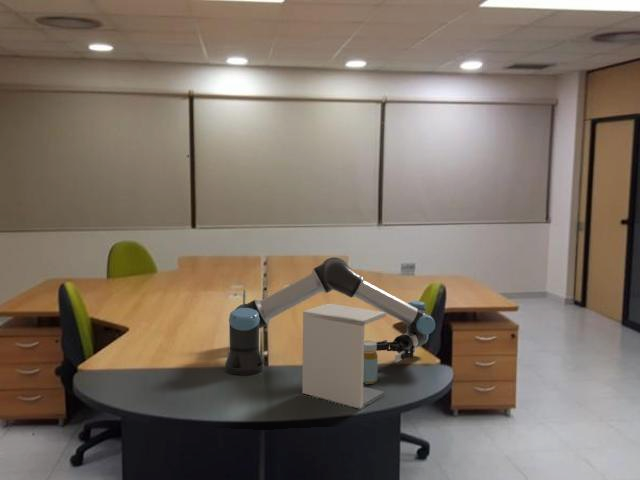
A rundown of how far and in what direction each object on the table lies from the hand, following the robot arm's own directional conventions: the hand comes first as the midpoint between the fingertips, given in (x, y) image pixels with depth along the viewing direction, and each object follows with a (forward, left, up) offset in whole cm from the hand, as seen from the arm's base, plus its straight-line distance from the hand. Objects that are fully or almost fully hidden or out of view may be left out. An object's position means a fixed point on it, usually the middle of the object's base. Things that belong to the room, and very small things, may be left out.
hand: (380, 355), depth 237 cm
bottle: (-8, -4, -8) cm, 12 cm away
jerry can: (-35, +56, -8) cm, 67 cm away
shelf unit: (-22, -13, -8) cm, 27 cm away
